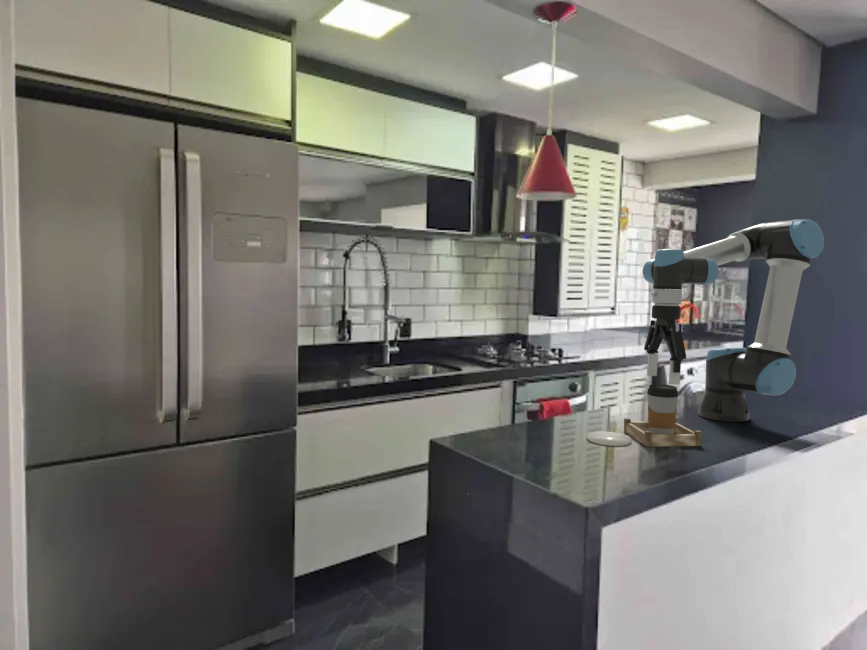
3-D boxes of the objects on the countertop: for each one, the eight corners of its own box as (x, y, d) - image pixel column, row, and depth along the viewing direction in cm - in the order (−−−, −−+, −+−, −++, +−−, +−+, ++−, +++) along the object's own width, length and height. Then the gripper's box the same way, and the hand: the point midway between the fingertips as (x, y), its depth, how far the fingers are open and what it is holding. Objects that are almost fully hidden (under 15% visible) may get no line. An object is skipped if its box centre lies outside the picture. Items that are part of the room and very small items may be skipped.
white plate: (621, 433, 167) (621, 431, 166) (638, 446, 155) (638, 443, 155) (581, 434, 166) (581, 431, 166) (595, 446, 154) (595, 443, 154)
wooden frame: (673, 431, 170) (674, 417, 170) (701, 446, 155) (701, 431, 155) (623, 431, 169) (624, 418, 169) (646, 446, 154) (646, 432, 154)
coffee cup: (679, 443, 157) (682, 390, 156) (647, 441, 159) (650, 388, 158) (673, 435, 165) (675, 384, 164) (643, 433, 167) (645, 383, 166)
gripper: (634, 302, 171) (631, 372, 173) (675, 306, 146) (670, 388, 148) (659, 303, 172) (655, 372, 173) (703, 307, 147) (698, 388, 148)
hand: (662, 379), depth 161 cm, fingers open, 13 cm apart
